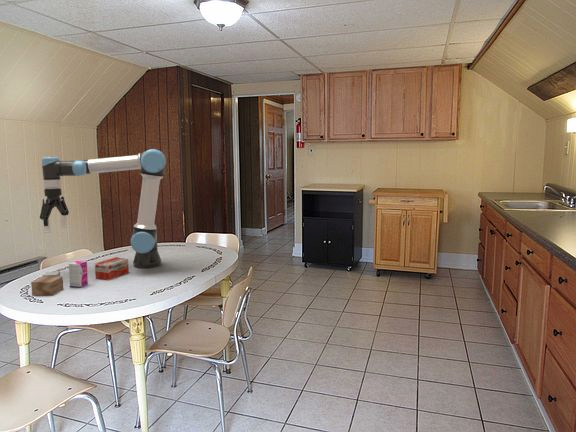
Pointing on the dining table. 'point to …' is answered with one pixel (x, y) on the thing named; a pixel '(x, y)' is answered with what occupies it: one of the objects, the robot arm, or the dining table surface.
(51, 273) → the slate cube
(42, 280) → the brown cardboard box
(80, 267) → the supplement box
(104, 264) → the medicine box
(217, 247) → the dining table surface
